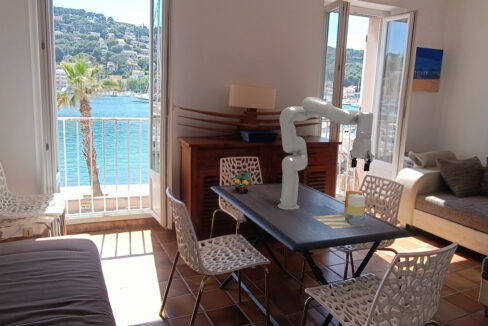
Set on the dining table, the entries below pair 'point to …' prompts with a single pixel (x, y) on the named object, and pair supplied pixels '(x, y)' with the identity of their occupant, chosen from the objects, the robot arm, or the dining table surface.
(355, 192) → the candy box
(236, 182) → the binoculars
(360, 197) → the cream block
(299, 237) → the dining table surface
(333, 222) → the build board
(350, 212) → the mustard block
